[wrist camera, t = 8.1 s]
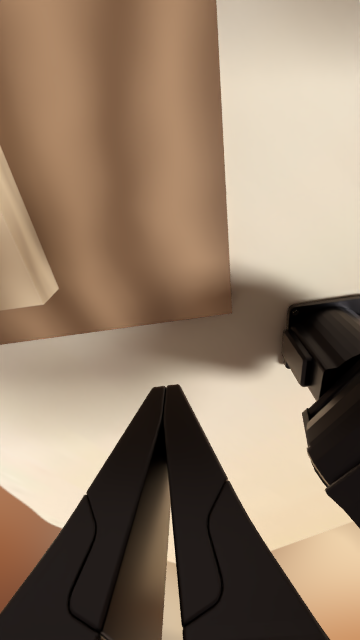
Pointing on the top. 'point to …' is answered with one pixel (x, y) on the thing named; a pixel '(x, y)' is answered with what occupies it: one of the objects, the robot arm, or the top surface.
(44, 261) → the birch plate
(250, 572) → the robot arm
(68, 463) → the top surface
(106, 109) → the bench board
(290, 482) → the top surface
